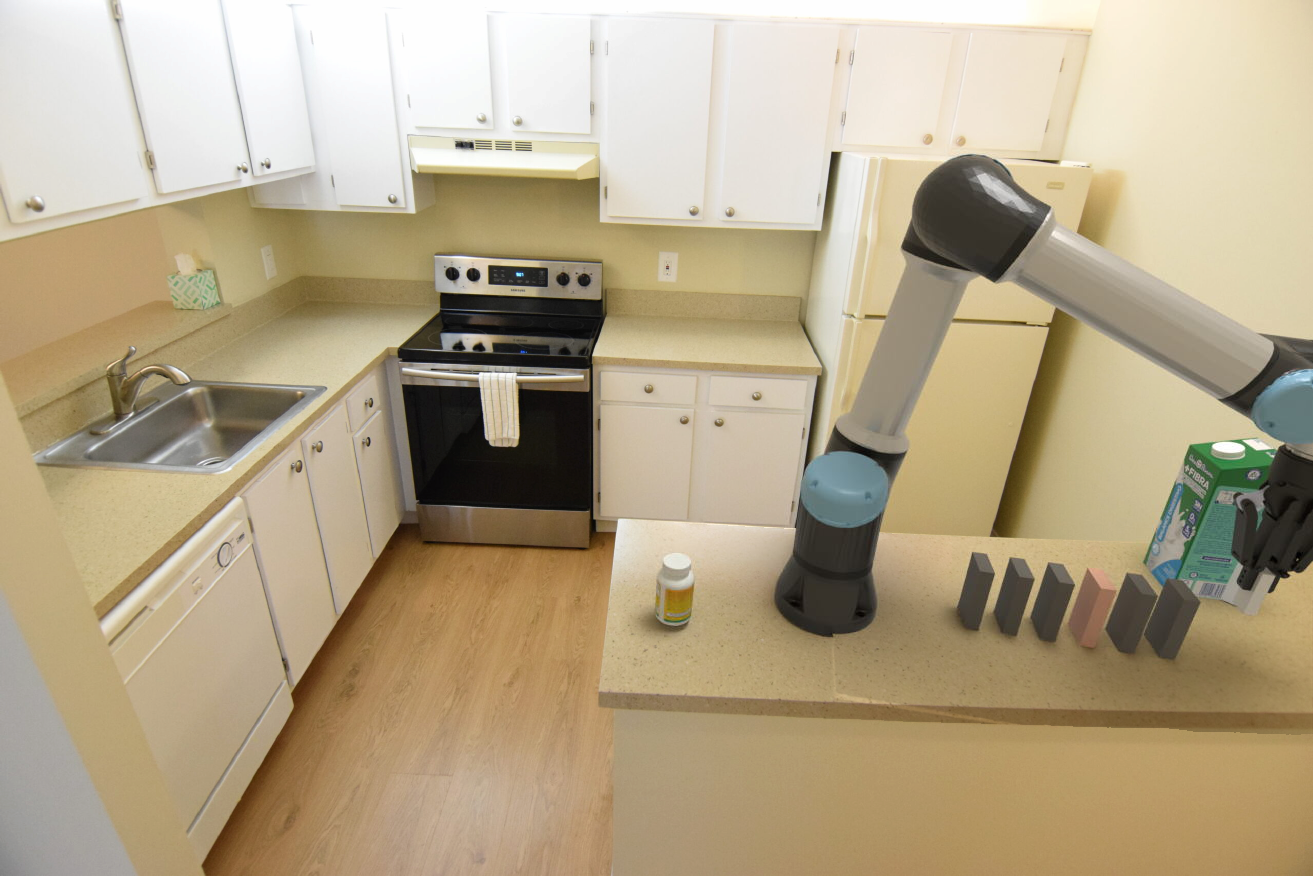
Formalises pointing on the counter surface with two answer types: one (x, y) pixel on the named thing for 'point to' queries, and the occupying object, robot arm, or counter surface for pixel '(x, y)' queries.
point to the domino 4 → (1091, 607)
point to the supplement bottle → (674, 590)
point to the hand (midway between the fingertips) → (1243, 608)
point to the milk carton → (1207, 514)
